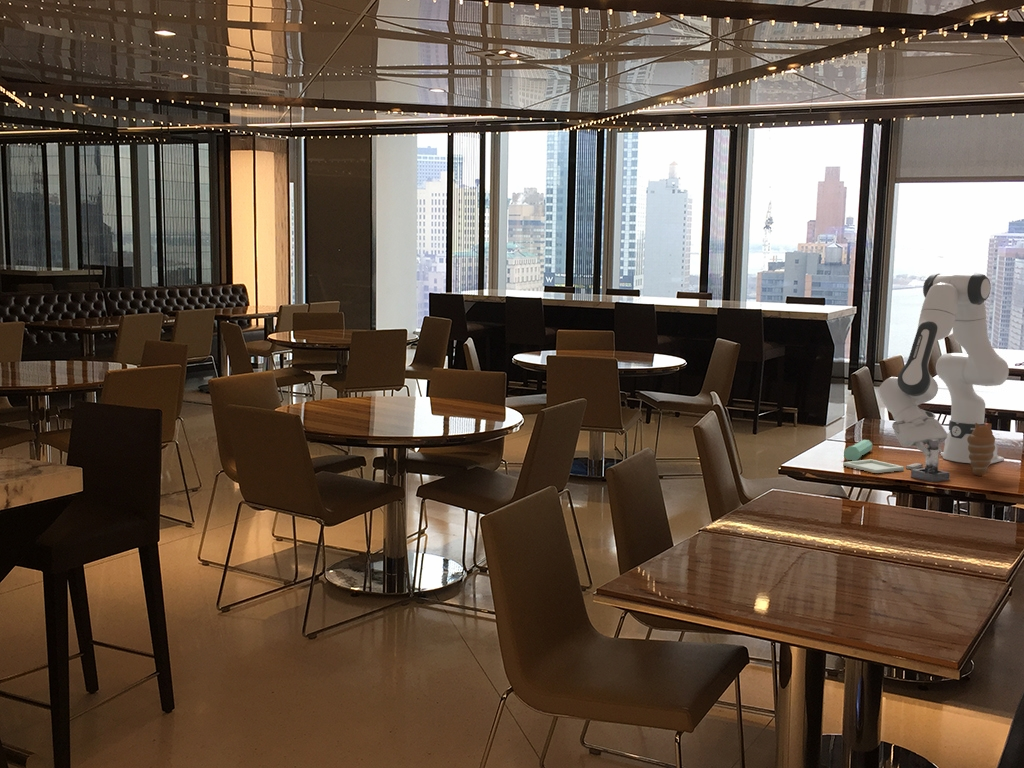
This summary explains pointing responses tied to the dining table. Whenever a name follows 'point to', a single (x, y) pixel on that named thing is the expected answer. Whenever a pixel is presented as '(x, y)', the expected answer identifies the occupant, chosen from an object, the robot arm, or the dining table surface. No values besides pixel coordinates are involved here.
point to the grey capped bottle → (932, 456)
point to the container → (857, 450)
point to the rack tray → (873, 466)
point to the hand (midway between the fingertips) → (934, 453)
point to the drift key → (914, 466)
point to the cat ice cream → (981, 448)
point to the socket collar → (930, 475)
